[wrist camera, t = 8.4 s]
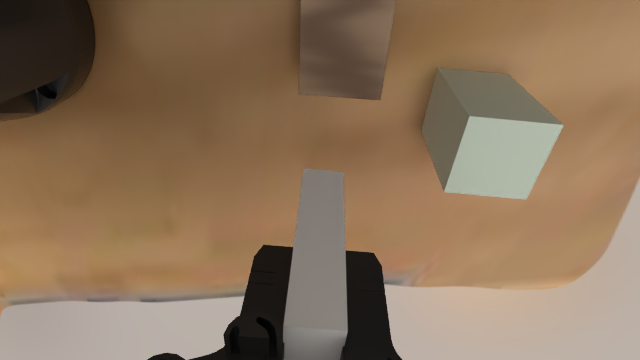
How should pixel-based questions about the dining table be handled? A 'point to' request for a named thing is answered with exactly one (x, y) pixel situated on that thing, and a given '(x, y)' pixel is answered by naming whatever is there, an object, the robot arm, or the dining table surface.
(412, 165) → the dining table surface
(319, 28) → the walnut pillar
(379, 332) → the robot arm
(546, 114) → the sage pillar
